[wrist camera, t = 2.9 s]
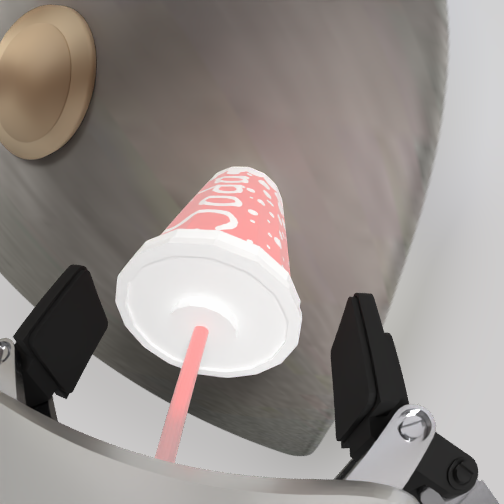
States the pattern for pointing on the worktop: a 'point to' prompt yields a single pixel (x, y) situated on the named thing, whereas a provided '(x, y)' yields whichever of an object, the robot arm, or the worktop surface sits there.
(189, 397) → the beverage cup
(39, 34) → the plate
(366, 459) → the robot arm
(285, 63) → the worktop surface
